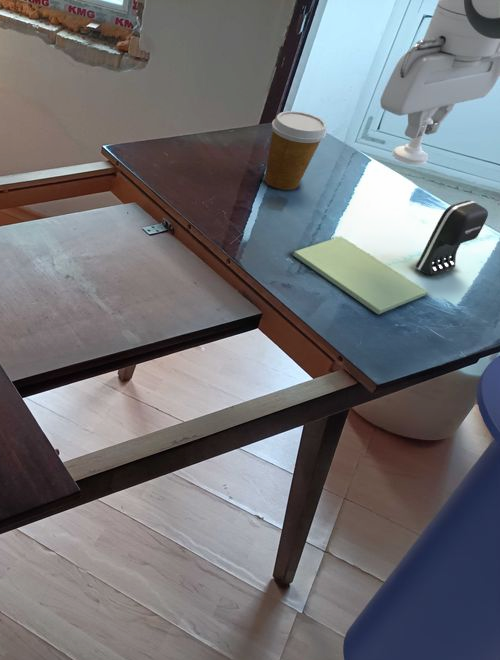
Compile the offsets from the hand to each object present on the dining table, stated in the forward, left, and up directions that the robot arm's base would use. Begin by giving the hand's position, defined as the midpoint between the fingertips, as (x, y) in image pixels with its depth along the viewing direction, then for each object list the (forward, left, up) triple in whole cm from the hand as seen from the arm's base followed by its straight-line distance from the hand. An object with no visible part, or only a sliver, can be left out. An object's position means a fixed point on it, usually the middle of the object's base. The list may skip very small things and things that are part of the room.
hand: (419, 134), depth 99 cm
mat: (-4, +6, -20) cm, 22 cm away
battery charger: (-8, -7, -21) cm, 23 cm away
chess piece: (0, 0, -4) cm, 4 cm away
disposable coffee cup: (+24, -5, -21) cm, 32 cm away
